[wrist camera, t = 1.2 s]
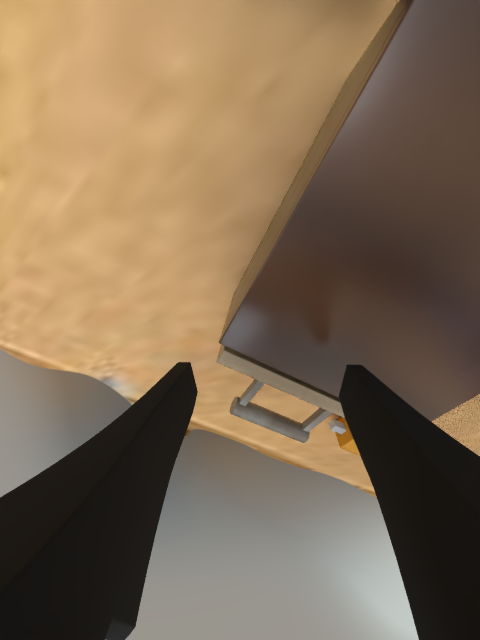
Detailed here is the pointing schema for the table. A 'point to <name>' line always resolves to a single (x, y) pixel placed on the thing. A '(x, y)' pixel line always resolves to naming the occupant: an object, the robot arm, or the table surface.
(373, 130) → the cabinet
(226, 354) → the drawer
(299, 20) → the table surface
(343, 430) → the box cutter
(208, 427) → the table surface
